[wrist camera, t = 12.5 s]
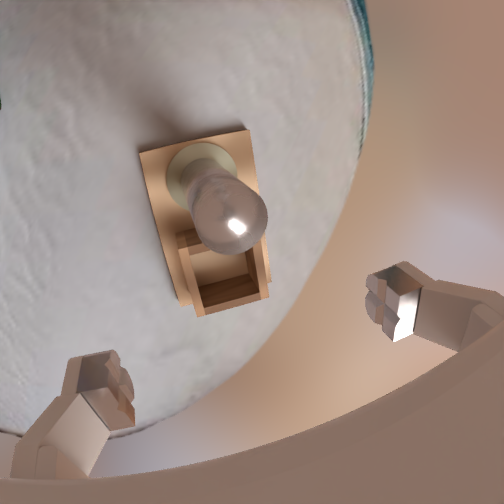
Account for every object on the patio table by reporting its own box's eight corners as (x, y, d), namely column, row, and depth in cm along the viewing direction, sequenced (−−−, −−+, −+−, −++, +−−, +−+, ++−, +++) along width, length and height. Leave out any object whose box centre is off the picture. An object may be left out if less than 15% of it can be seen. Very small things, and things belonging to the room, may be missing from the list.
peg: (176, 163, 27) (188, 194, 16) (220, 153, 27) (262, 177, 17) (185, 206, 28) (204, 262, 18) (228, 196, 29) (271, 245, 19)
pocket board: (139, 152, 27) (135, 158, 22) (246, 129, 28) (263, 131, 24) (179, 301, 34) (184, 329, 29) (268, 277, 35) (284, 301, 31)
